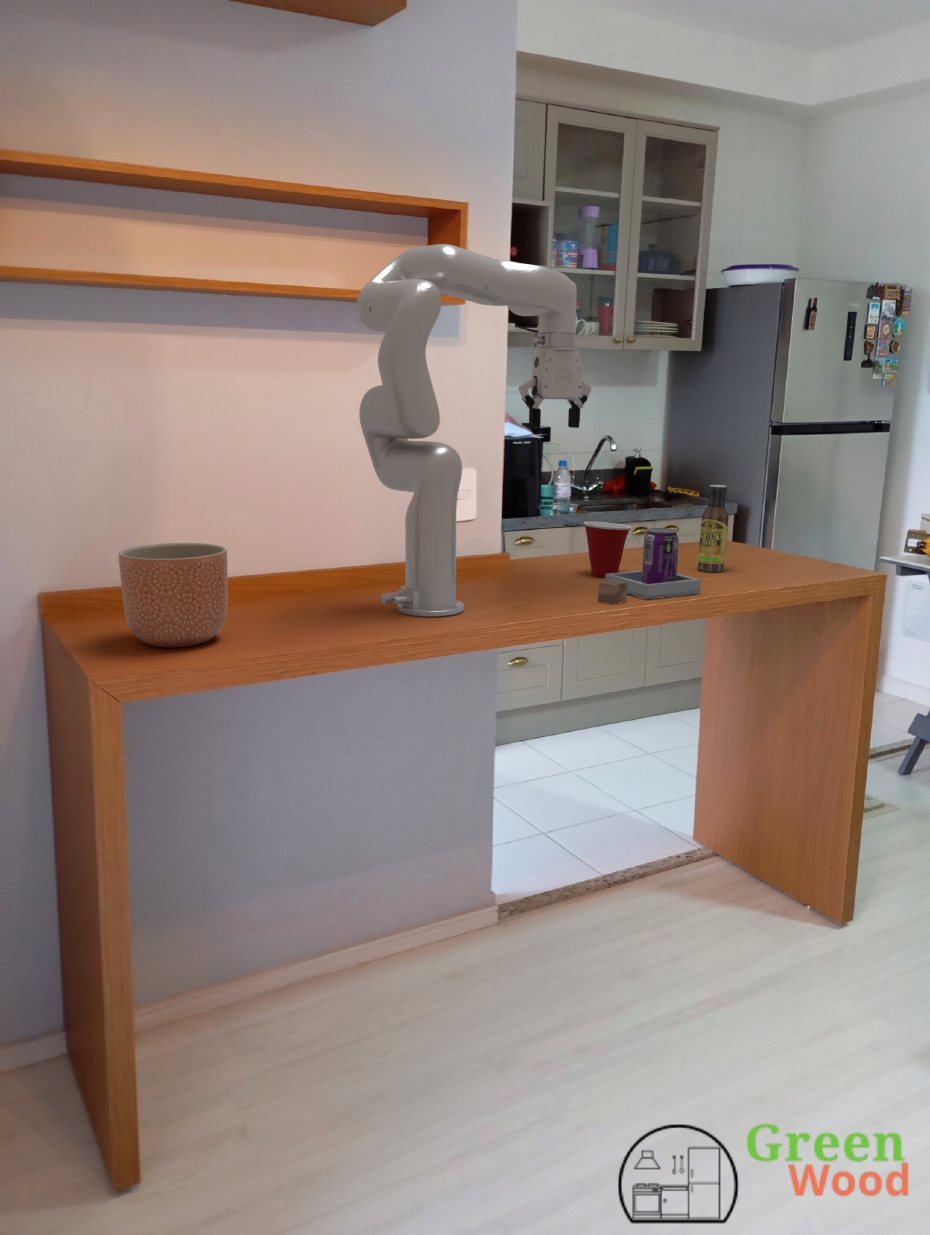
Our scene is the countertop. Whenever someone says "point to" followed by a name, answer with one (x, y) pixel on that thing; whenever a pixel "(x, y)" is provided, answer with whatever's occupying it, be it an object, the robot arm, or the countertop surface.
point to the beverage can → (660, 556)
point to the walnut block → (612, 591)
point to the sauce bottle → (713, 531)
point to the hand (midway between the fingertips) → (554, 427)
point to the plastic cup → (605, 546)
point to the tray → (656, 585)
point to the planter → (174, 592)
